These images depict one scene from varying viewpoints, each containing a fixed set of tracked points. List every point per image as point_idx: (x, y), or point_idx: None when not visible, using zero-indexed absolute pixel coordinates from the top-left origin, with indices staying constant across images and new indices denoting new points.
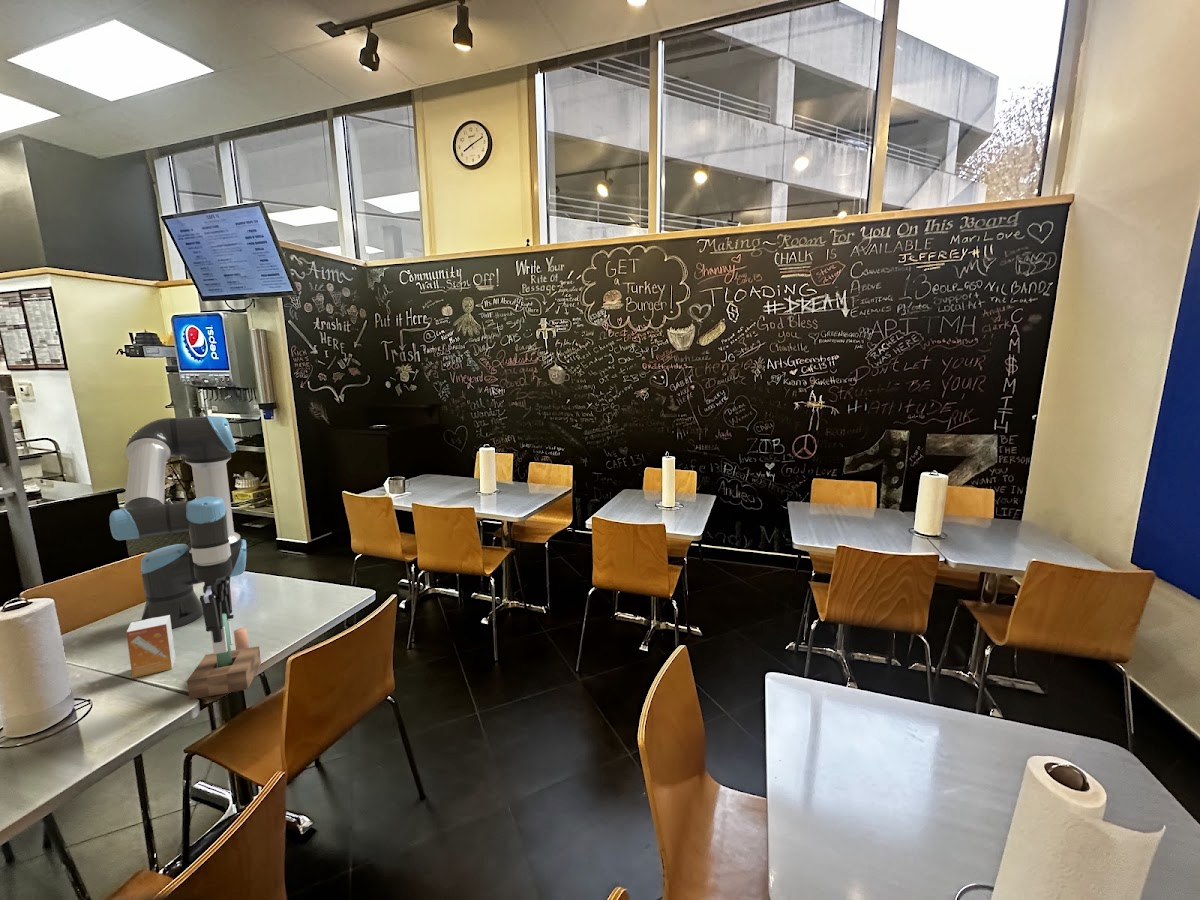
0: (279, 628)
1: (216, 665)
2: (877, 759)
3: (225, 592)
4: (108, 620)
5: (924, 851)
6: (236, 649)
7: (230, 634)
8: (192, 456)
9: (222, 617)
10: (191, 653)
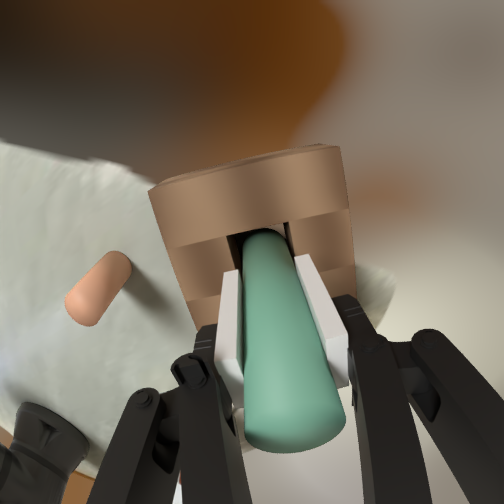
0: (6, 238)
1: None
2: None
3: None
4: (87, 472)
5: None
6: (121, 286)
7: (235, 298)
8: None
9: (332, 404)
10: (130, 378)
